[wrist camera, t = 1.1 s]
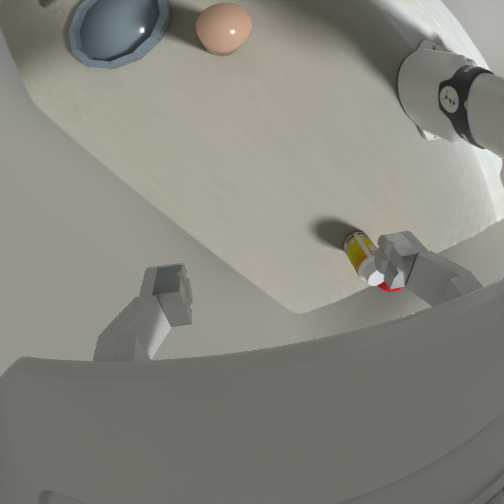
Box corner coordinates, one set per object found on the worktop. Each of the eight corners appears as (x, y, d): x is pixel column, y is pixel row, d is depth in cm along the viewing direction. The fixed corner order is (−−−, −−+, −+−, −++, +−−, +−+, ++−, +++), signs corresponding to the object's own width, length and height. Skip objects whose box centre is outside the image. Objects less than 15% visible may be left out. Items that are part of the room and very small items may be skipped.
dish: (163, -30, 18) (160, -36, 16) (177, 48, 27) (174, 46, 25) (72, 7, 18) (64, 5, 16) (85, 81, 27) (77, 83, 25)
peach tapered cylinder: (239, 19, 25) (247, 0, 16) (244, 52, 28) (255, 44, 20) (199, 26, 25) (191, 8, 16) (205, 59, 28) (200, 53, 20)
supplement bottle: (343, 256, 52) (363, 293, 44) (341, 235, 49) (363, 271, 41) (368, 248, 52) (390, 283, 44) (367, 227, 48) (392, 261, 40)
